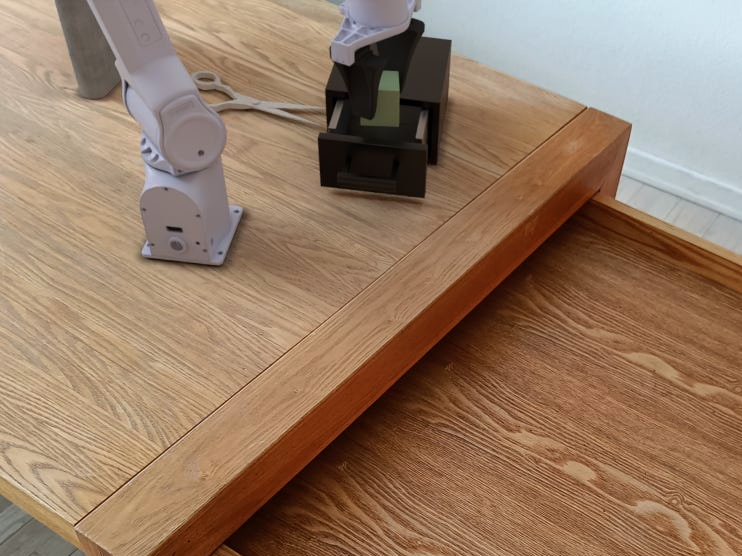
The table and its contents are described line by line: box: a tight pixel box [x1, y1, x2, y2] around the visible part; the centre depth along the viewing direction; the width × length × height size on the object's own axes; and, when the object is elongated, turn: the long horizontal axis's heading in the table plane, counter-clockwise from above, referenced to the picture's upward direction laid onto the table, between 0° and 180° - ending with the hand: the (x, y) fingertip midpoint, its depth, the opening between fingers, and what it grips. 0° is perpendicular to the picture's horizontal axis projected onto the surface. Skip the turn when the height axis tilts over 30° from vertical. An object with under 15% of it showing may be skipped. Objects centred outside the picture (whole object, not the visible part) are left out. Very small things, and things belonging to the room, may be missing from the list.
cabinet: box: [324, 35, 453, 166], centre depth 103 cm, size 15×13×8 cm
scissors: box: [190, 70, 326, 127], centre depth 105 cm, size 11×1×20 cm
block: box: [361, 71, 400, 127], centre depth 93 cm, size 4×4×4 cm
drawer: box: [317, 98, 432, 199], centre depth 97 cm, size 18×11×6 cm, turn 176°
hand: (378, 103), depth 93 cm, fingers closed on block, 5 cm apart
